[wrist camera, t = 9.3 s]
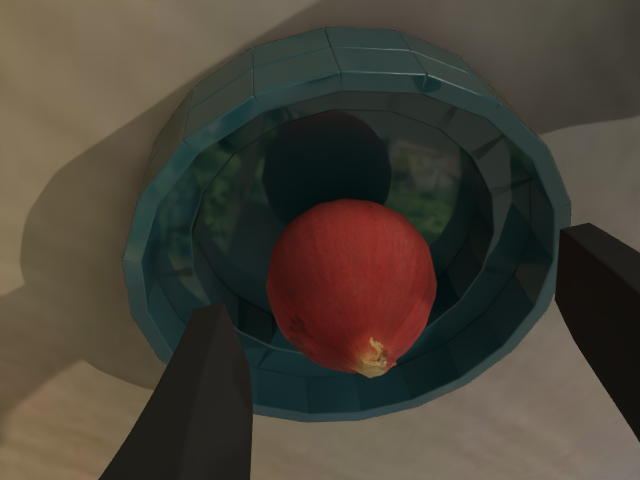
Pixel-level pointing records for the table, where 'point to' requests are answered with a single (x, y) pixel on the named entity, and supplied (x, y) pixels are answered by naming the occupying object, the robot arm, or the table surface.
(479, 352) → the teal bowl
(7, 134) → the table surface
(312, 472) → the table surface
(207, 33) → the table surface
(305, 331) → the onion
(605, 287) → the robot arm
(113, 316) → the table surface
